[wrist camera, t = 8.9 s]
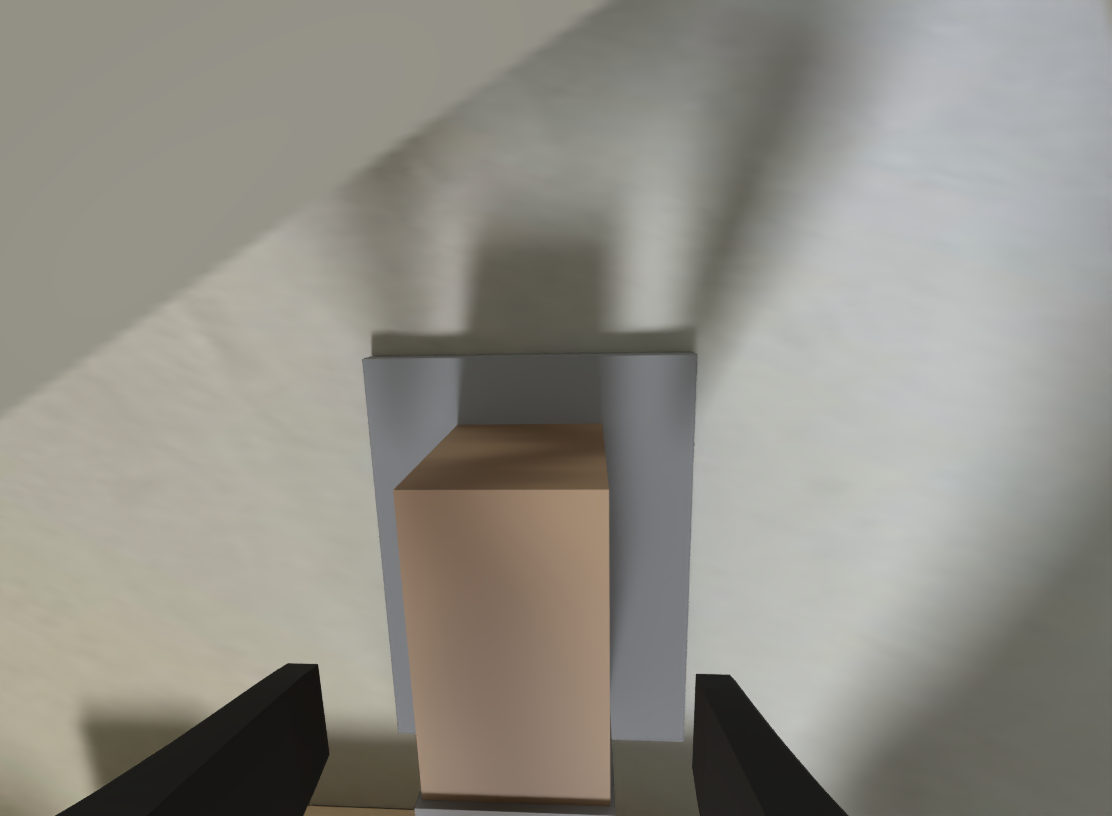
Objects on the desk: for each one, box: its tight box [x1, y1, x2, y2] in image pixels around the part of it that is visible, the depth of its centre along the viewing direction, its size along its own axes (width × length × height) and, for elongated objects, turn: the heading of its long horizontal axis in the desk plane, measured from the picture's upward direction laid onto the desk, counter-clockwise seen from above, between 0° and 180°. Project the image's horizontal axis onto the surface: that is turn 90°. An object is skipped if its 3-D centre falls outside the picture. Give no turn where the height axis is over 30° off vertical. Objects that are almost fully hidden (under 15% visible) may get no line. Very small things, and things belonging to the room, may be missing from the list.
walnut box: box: [393, 423, 616, 816], centre depth 13 cm, size 4×9×5 cm, turn 1°
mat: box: [362, 352, 697, 742], centre depth 16 cm, size 9×12×1 cm
